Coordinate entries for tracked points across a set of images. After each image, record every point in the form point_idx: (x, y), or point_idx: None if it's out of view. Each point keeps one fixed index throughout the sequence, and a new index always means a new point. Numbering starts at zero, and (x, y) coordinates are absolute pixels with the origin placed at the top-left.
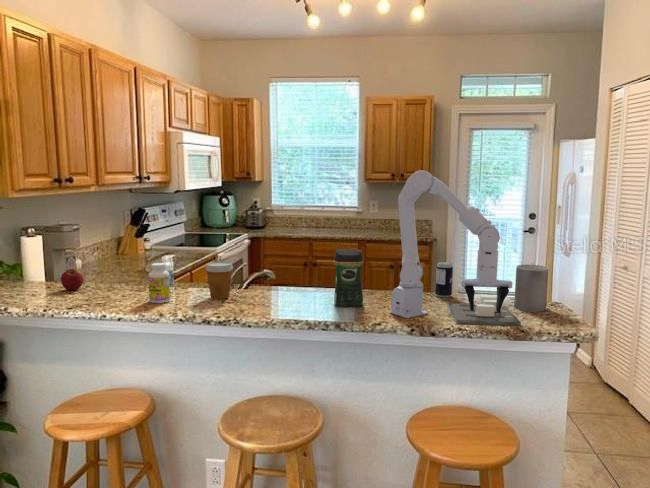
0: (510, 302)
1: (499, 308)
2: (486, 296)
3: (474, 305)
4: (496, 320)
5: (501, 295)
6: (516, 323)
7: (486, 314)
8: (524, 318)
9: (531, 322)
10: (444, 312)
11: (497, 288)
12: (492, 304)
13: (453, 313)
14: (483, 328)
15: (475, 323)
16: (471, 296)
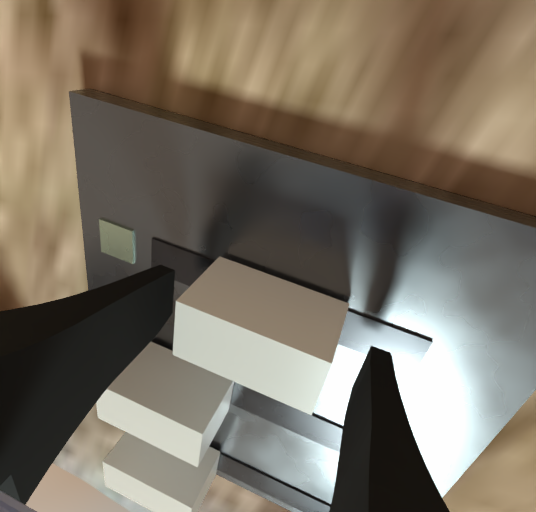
0: (73, 452)
1: (145, 277)
2: (157, 501)
3: (249, 475)
4: (234, 170)
5: (25, 337)
6: (104, 98)
7: (270, 284)
8: (48, 244)
9: (21, 161)
10: (495, 486)
11: (18, 484)
12: (164, 395)
13: (504, 422)
14: (438, 26)
15: (432, 190)
16: (408, 487)
